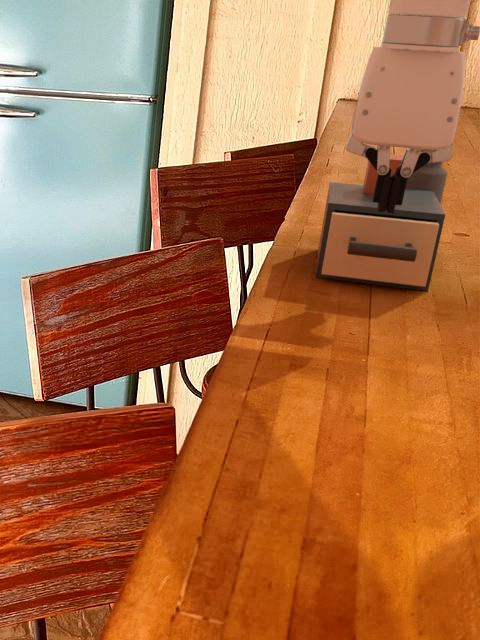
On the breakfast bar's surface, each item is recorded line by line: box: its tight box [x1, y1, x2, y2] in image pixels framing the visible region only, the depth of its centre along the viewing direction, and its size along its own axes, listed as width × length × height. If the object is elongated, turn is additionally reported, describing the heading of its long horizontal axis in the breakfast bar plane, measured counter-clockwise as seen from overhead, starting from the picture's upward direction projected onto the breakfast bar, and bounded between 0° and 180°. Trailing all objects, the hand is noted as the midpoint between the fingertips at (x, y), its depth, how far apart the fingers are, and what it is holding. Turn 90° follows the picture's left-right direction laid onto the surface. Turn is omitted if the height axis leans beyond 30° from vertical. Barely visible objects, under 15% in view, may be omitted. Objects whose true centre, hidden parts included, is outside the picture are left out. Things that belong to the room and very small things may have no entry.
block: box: [363, 153, 404, 194], centre depth 111 cm, size 4×4×4 cm
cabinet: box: [315, 181, 446, 292], centre depth 110 cm, size 15×13×9 cm
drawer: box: [322, 210, 439, 287], centre depth 106 cm, size 18×11×7 cm, turn 160°
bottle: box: [405, 149, 448, 206], centre depth 121 cm, size 6×6×15 cm
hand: (385, 210), depth 99 cm, fingers closed
